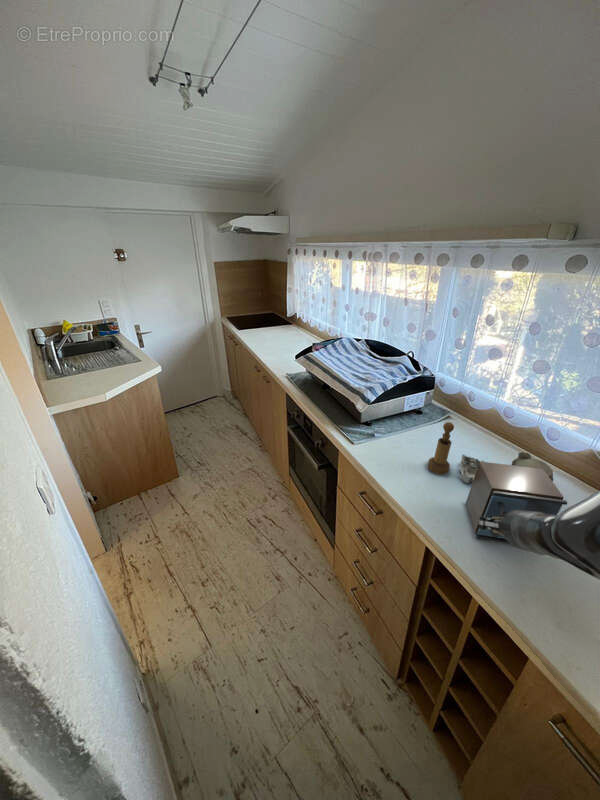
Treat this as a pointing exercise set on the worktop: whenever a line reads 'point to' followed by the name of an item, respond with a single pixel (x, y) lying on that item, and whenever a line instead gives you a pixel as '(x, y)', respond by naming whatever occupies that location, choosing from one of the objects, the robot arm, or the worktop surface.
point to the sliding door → (501, 511)
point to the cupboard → (511, 491)
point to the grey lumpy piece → (468, 468)
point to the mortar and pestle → (442, 452)
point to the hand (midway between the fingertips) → (494, 523)
